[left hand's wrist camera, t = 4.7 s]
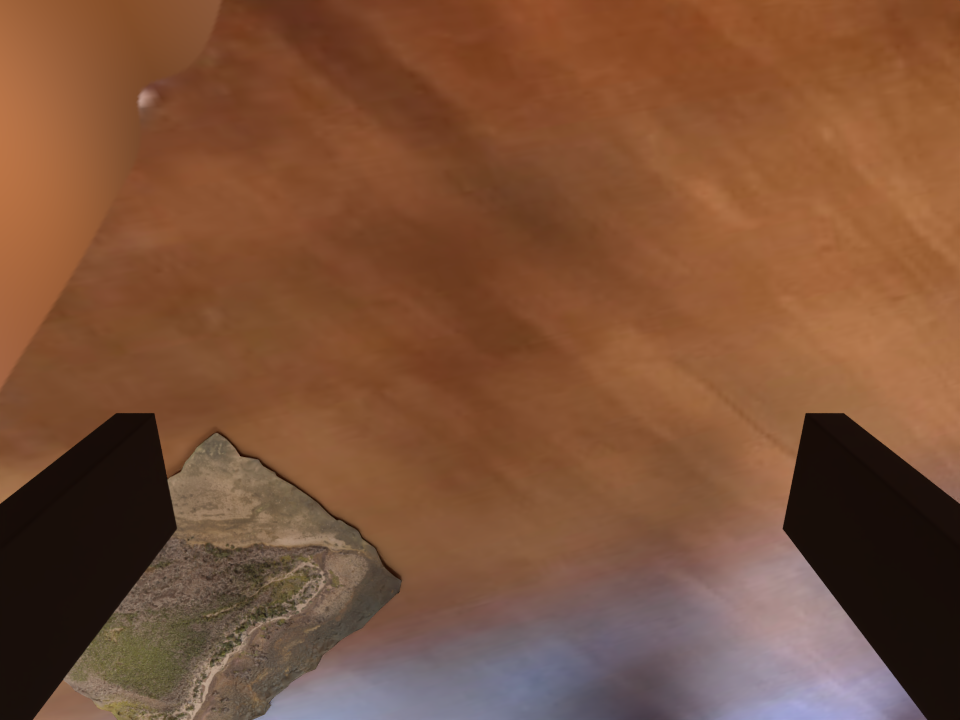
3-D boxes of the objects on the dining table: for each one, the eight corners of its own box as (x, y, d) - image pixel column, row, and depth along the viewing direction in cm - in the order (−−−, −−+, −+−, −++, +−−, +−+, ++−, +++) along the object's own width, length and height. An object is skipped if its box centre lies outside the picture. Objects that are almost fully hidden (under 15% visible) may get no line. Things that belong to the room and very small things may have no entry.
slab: (214, 768, 55) (210, 778, 54) (5, 650, 50) (-3, 660, 49) (418, 573, 48) (417, 582, 47) (196, 415, 43) (190, 421, 42)
